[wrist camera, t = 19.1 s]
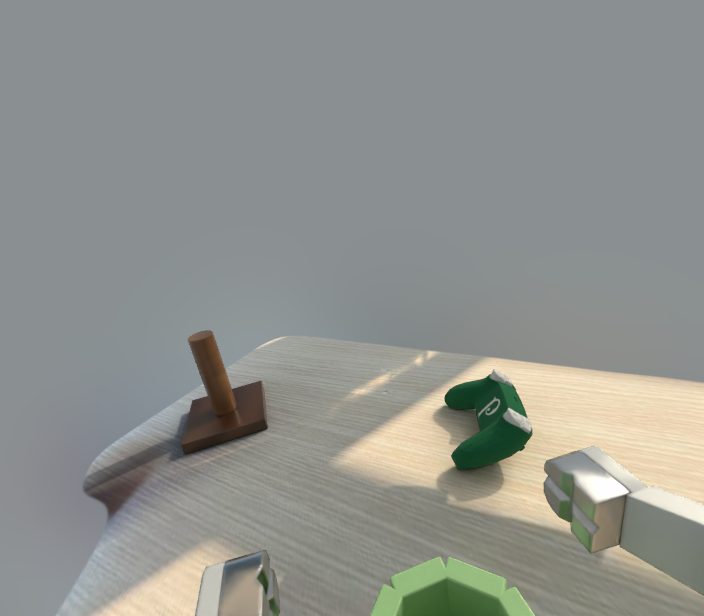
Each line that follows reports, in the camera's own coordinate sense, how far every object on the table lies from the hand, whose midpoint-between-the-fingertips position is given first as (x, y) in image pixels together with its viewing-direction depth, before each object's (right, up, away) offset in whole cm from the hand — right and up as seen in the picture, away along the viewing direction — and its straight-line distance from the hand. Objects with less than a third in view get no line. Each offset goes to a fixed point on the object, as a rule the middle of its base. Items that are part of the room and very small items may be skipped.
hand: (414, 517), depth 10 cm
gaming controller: (+10, -5, +21) cm, 23 cm away
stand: (-15, -6, +29) cm, 33 cm away
